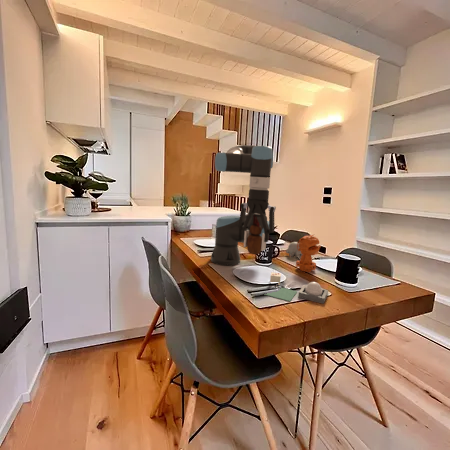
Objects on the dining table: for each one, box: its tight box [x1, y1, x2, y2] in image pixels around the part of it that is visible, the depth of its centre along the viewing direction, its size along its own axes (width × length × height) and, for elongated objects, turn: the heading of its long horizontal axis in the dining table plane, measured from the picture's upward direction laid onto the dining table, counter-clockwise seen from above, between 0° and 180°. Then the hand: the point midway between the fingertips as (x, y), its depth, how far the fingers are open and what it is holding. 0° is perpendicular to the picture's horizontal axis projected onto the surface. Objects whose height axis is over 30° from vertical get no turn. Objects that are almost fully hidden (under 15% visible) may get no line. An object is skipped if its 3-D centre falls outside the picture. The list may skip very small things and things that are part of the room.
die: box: [269, 272, 282, 286], centre depth 110 cm, size 4×4×4 cm
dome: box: [304, 281, 324, 297], centre depth 99 cm, size 6×6×5 cm
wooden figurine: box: [246, 215, 262, 255], centre depth 103 cm, size 7×6×15 cm
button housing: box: [297, 284, 329, 305], centre depth 100 cm, size 9×9×2 cm
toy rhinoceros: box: [285, 241, 303, 260], centre depth 150 cm, size 7×12×8 cm, turn 26°
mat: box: [263, 287, 298, 302], centre depth 100 cm, size 10×10×1 cm
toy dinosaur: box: [295, 234, 322, 273], centre depth 128 cm, size 11×11×18 cm
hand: (254, 248), depth 104 cm, fingers closed on wooden figurine, 7 cm apart
